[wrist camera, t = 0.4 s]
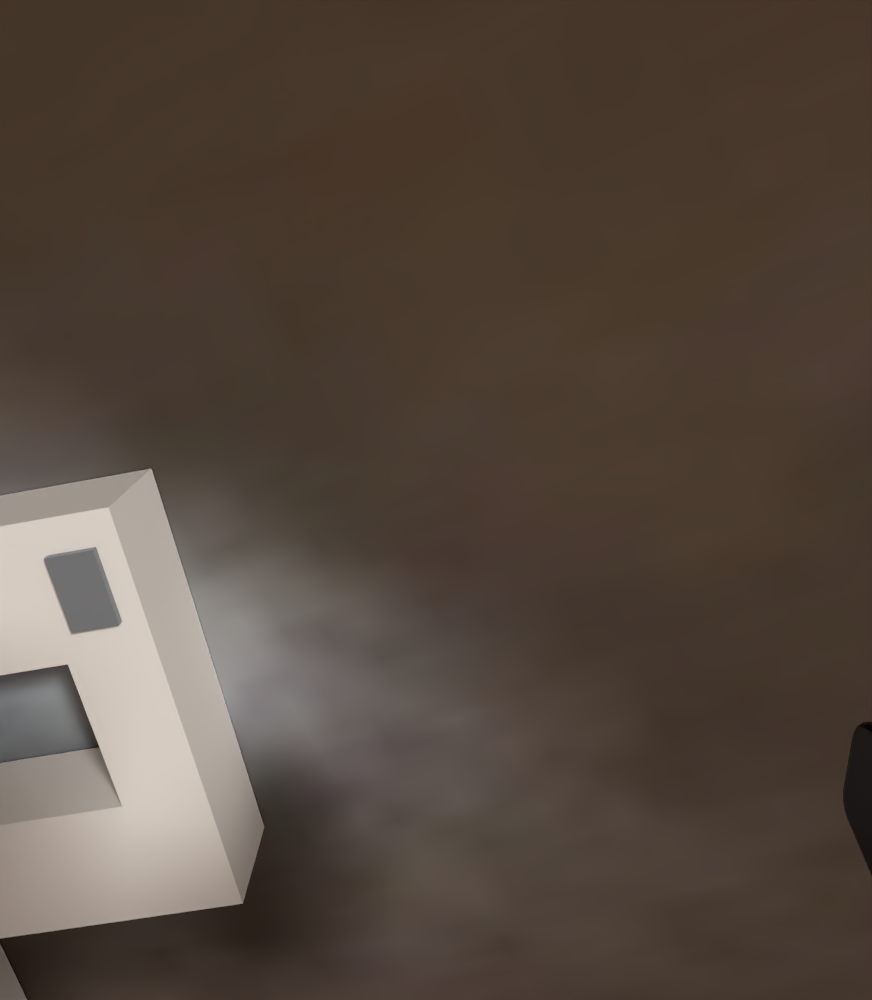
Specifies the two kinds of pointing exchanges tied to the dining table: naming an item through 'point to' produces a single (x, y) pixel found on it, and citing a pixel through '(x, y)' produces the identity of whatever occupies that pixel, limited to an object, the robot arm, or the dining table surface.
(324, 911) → the dining table surface
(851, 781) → the robot arm
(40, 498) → the socket block
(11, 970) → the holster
